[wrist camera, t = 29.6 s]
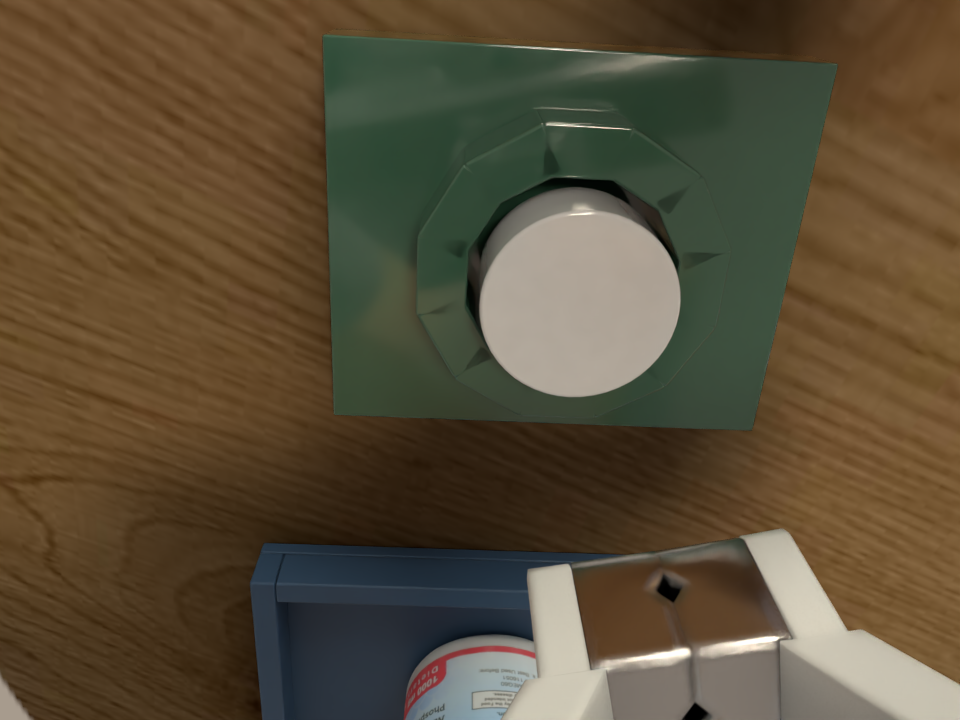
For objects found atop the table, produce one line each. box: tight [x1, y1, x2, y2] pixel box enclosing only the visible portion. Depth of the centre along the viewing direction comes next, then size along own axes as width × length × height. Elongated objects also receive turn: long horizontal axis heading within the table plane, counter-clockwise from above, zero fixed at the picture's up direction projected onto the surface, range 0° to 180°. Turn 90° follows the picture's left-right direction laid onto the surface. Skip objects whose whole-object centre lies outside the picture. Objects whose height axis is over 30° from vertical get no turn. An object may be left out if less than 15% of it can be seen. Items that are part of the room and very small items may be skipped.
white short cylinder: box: [478, 187, 681, 397], centre depth 18 cm, size 4×4×2 cm
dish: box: [250, 543, 622, 720], centre depth 29 cm, size 16×12×2 cm
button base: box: [322, 29, 838, 431], centre depth 21 cm, size 12×10×4 cm
